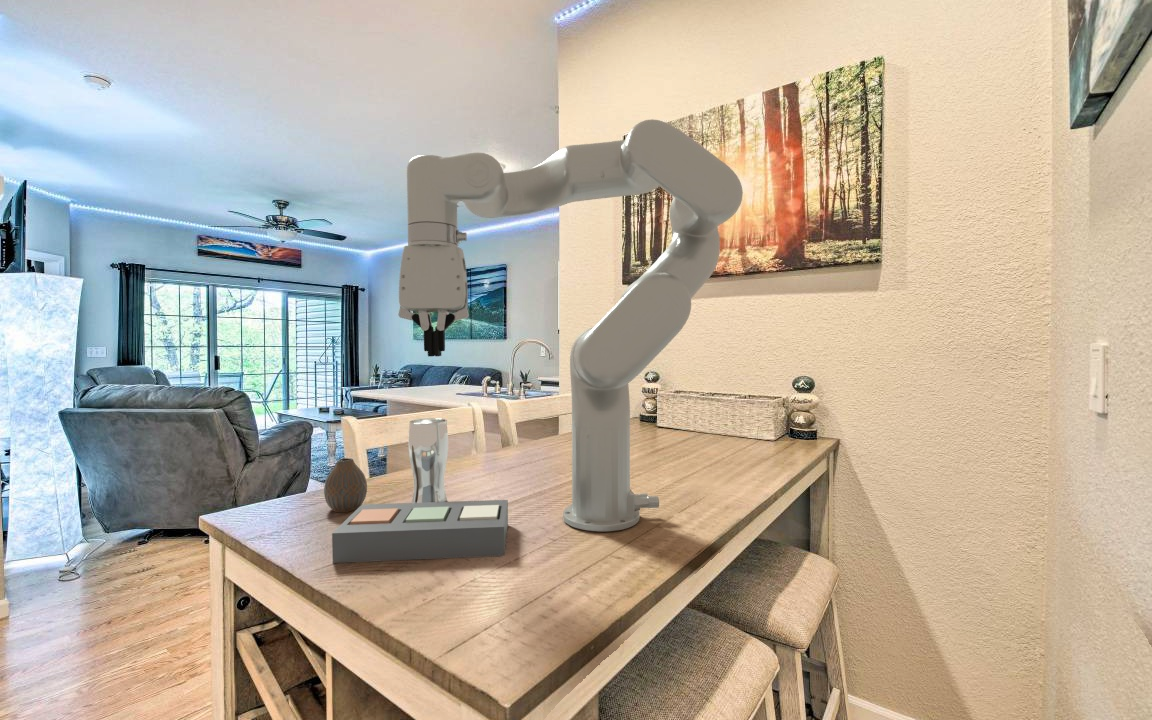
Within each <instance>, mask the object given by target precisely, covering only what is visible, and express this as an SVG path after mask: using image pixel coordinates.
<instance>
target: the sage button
mask: <svg viewBox="0 0 1152 720" xmlns="http://www.w3.org/2000/svg"><path fill="white" fill-rule="evenodd" d="M448 515H449V507H422V508H413V510H412V511H411V513H410V514H409V516H408V517H407V518H406V523H414V522H442V521H446V520H447V518H448Z"/></svg>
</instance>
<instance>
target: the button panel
mask: <svg viewBox="0 0 1152 720" xmlns="http://www.w3.org/2000/svg"><path fill="white" fill-rule="evenodd" d="M508 502H509V500H508V499H494V500H493V499H491V500H490V499H489V500H488V499H487V500H486V499H485V500H464V501H462V500H457V501H446V502H425V503H412V502H402V503H396V502H395V503H367V504H361V505H360V507H359V508H357V509H355V510H354V512H353V513H352V514H350V515H349V516H348V517H347V518H346V519H345V520H344V521H343V522H342V523H341V524H339V526H338V527H337V528H336V529H335V530H334V531H333V532H332V533H331V542H332V543H331V546H332V547H331V548H332V563H333V564H339V563H361V562H362V563H363V562H385V561H390V562H391V561H408V560H409V561H411V560H414V561H415V560H433V559H435V560H436V559H437V560H438V559H455V558H456V559H457V558H461V559H462V558H478V557H481V558H483V557H505V553H506V544H507V538H508V537H507V535H508V527H509V512H508V511H509V503H508ZM482 505H499V519H497V520H469V521H460V516H461V513H462V511H463V508H464V506H482ZM422 507H449V515H448V518H447V520H446V521H442V522H414V523H406V518H407V517H408V516H409V514H410V513H411V511H412V510H413V508H422ZM393 508H398V515H397V516H396V517H395V519H394V520H393V521H392V523H387V524H359V525H350V522H351V521H352V520H353V519H354V518H355V517H356V516H357V515H358V514H359V513H360V512H361V511H362V510H364V509H393Z"/></svg>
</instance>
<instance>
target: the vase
mask: <svg viewBox="0 0 1152 720" xmlns="http://www.w3.org/2000/svg"><path fill="white" fill-rule="evenodd" d="M367 483H368V482H367V478H366V476H365V473H364V472H363V470H361V469H360V467H359V466H358V465H357V464H356V463H355V461H354V459H353V458H351V457H345V458H344V457H343V458H339V459H337V461H336V464H335V466H334V467H333V469H332V470H331V472H329V474H328V475H327V477H326V479H325V482H324V486H323V487H324V488H323V495H324V499H325V502H326V504H327V507H329V508H330V509H331V510H332V511H334V512H336V513H347V512H353V511H356V510H357V509H358V508H359V507H360V506H361V505H363V503H364V501H365V499H366V497H367V493H368V484H367Z"/></svg>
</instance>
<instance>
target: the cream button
mask: <svg viewBox="0 0 1152 720" xmlns="http://www.w3.org/2000/svg"><path fill="white" fill-rule="evenodd" d="M497 519H499V505H482V506H464V508H463V511H462V513H461V516H460V521H469V520H497Z"/></svg>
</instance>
